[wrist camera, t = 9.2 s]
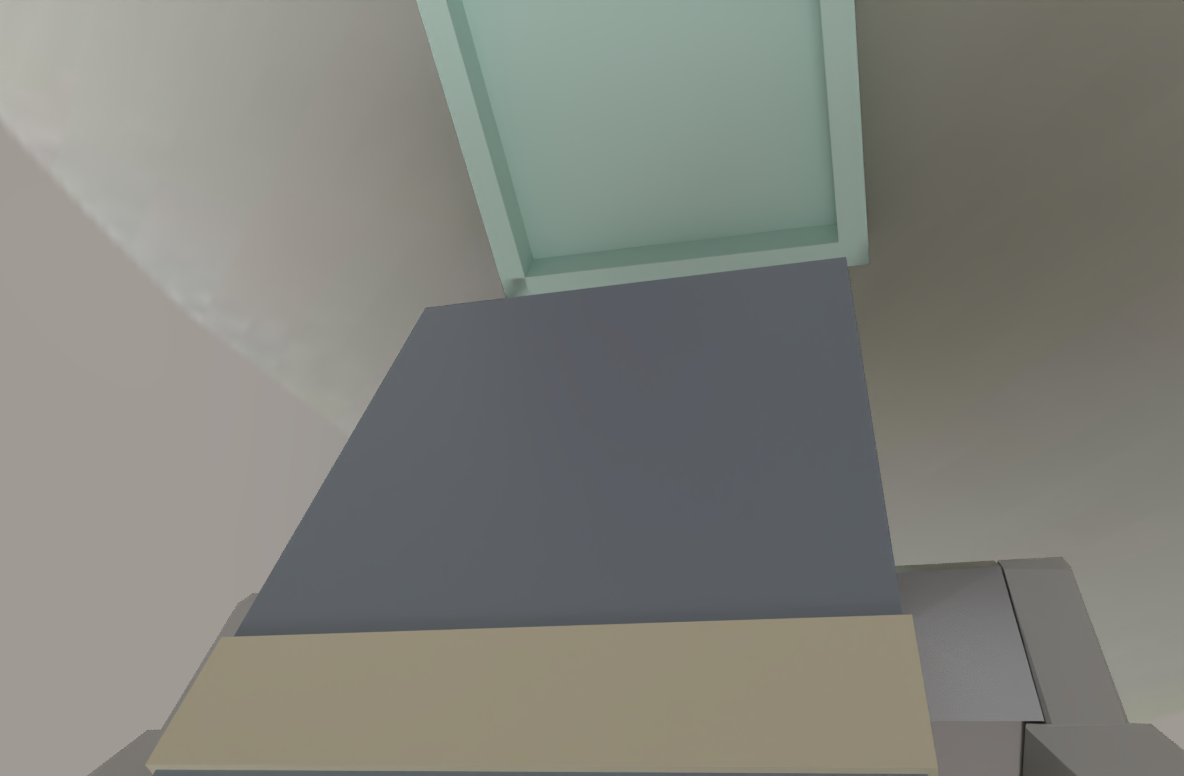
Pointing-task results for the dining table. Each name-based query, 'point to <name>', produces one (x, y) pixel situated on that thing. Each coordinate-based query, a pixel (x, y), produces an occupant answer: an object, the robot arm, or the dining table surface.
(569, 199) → the tray
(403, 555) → the module
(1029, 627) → the robot arm
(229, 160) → the dining table surface
